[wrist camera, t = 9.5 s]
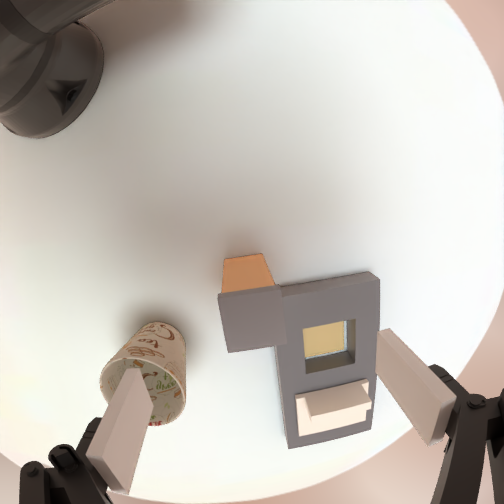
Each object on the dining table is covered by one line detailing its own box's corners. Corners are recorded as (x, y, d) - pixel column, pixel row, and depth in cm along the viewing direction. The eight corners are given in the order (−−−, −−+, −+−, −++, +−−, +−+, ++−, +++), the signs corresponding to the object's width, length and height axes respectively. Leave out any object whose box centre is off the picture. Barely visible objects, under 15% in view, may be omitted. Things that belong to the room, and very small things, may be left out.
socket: (266, 289, 34) (270, 299, 31) (368, 271, 34) (379, 279, 32) (285, 434, 39) (288, 449, 36) (364, 416, 40) (370, 429, 37)
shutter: (295, 395, 34) (302, 418, 30) (366, 378, 34) (379, 398, 30) (298, 432, 35) (304, 455, 31) (363, 416, 36) (374, 437, 31)
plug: (222, 257, 33) (217, 298, 21) (263, 251, 33) (280, 288, 21) (228, 296, 34) (228, 352, 22) (268, 290, 34) (287, 344, 22)
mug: (201, 321, 34) (191, 371, 25) (184, 403, 37) (175, 458, 27) (131, 304, 34) (99, 346, 24) (124, 387, 36) (101, 437, 26)
